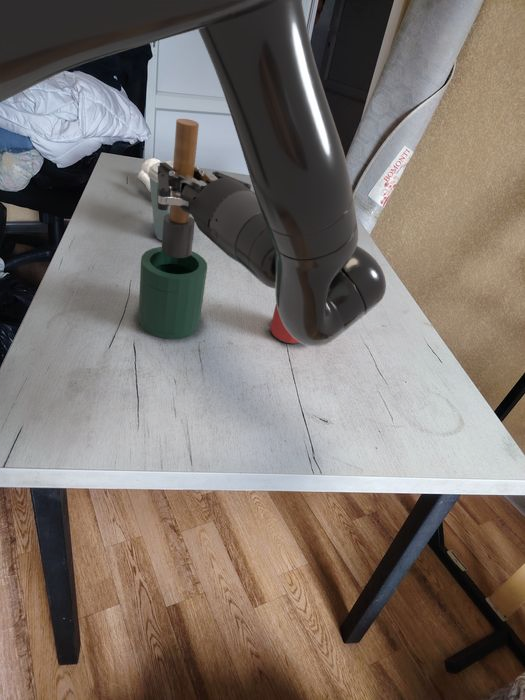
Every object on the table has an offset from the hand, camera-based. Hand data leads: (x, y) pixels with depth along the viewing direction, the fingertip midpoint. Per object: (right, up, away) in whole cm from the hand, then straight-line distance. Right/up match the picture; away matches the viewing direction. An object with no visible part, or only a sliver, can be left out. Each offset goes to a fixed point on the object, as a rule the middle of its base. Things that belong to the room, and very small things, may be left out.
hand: (172, 169), depth 66 cm
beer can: (+17, -22, +17) cm, 32 cm away
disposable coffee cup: (-8, -1, +37) cm, 38 cm away
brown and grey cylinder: (0, -10, +5) cm, 11 cm away
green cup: (-3, -20, +13) cm, 24 cm away
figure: (-13, +14, +54) cm, 57 cm away
